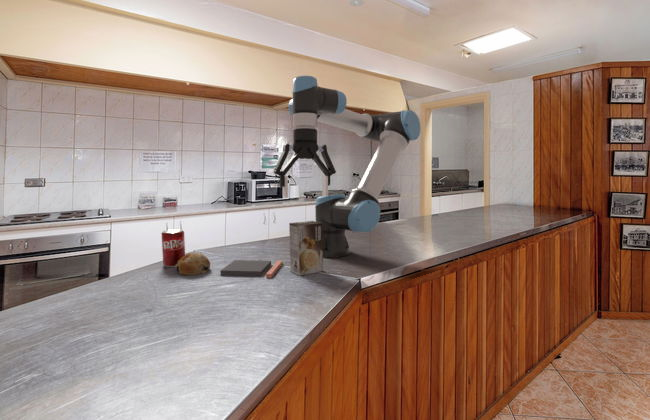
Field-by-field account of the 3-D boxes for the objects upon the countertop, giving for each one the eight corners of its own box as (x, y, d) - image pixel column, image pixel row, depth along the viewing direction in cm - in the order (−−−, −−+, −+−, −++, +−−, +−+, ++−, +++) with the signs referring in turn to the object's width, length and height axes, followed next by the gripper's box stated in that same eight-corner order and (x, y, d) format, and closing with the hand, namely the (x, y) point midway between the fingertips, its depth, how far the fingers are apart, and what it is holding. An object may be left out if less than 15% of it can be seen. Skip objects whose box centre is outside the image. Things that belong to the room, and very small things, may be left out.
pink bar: (282, 264, 124) (282, 260, 124) (271, 277, 108) (271, 274, 108) (277, 264, 124) (277, 260, 124) (266, 277, 108) (266, 273, 108)
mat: (271, 265, 123) (271, 260, 123) (260, 276, 110) (260, 271, 110) (234, 264, 124) (234, 260, 124) (220, 275, 111) (220, 270, 111)
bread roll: (193, 287, 111) (202, 265, 109) (166, 272, 112) (175, 250, 110) (210, 278, 120) (218, 258, 119) (185, 264, 122) (193, 244, 120)
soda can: (163, 263, 125) (162, 230, 124) (185, 261, 128) (184, 228, 127) (162, 268, 119) (160, 233, 117) (185, 266, 121) (183, 232, 120)
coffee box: (313, 267, 120) (313, 220, 119) (323, 271, 115) (323, 222, 113) (289, 271, 115) (288, 222, 114) (299, 276, 110) (298, 225, 108)
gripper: (335, 131, 119) (335, 194, 121) (262, 128, 108) (264, 197, 111) (346, 129, 112) (345, 196, 114) (269, 125, 102) (270, 198, 104)
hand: (305, 196), depth 113 cm, fingers open, 13 cm apart
